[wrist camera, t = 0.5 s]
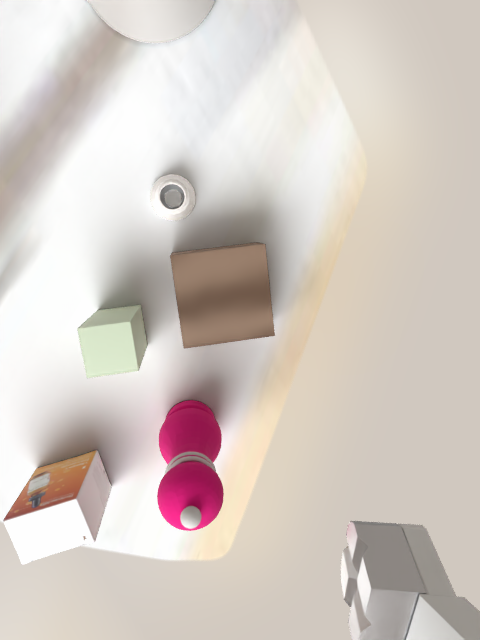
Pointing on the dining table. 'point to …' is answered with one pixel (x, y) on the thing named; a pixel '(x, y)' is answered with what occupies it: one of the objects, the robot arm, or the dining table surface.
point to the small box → (59, 507)
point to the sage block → (113, 341)
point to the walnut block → (223, 294)
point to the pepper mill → (190, 466)
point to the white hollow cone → (172, 198)
